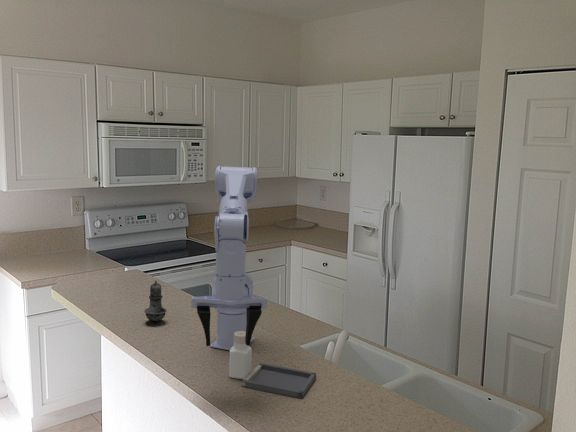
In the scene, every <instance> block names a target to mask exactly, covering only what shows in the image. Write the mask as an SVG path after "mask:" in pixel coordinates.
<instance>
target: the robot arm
mask: <svg viewBox="0 0 576 432" xmlns="http://www.w3.org/2000/svg"><path fill="white" fill-rule="evenodd" d="M214 174H215V175H214V189H215V195H216V197H217V200H218V201H220V203H219V208H218V209H219V210H218V215H215V217H214V218H215V219H214V233H213V235H214V236H213V237H214V241H215V242H214V243H215V245H214V246H215V247H214V248H215V249H214V251H215V252H216V254H215V277H214V279H213V285H212V293H211V294H212V295H203V296H191V305H190V307H191V309H196V311H197V312H196V313H197V315H198V317H199V321H200V323H201V325H202V328H203V329H202V330H203V331H204V336H205V345H206V347H210V348H215V349H219V350H227V351H230V349H231V348H232V347H233V346H234V333H235V332H238V331H245V332H246V336H245V343H246V346H251V343H252V342H253V341H255V337H254V336H253V333H254V330H255V329H256V328H255V327H256V325H257V324H258V321H259V320H260V318H261V315H262V312H263V311H262V309H267V307H268V305H267V304H268V298H267V297H266V296H254V285H253V284H254V279H253V277H252V276H251V275H250V274H249V273H247V272H246V254H247V253H246V252H247V244H248V241H249V230H250V229H249V227H250V219H249V212H248V204H251V203H253V202H255V198H256V197H257V191H258V169H257V168H256V167H255V166H254V167H243V166H222V165H218V166H217V167H216V168H215V173H214ZM244 240H245V241H246V242H245V241H244ZM211 308H214V309H215V310H216V313H217V326H216V330H217V331H216V340H215V341H214V342H212V343H211V330H210V329H211V328H210V327H211Z"/></svg>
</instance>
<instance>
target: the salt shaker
mask: <svg viewBox="0 0 576 432" xmlns="http://www.w3.org/2000/svg"><path fill="white" fill-rule="evenodd" d="M149 289H150V290H149V292H150V293H149V296H148V299H149V307H148V308H146V309H144V312H143V313H144V314H145V316H146V318H147V319H148V320H146V321H145V325H146V326H148V327H162V326H164V325H166V321H165V320H163V319H164V318H165V316H166V313H167V312H168V311H167V309H166V308H165V307H163V305H162V299H163V297H164V296H163V295H162V285H161V284H160V283H158V281H157V280H154V283H152V284H151V285H150V287H149Z"/></svg>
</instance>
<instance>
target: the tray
mask: <svg viewBox="0 0 576 432" xmlns="http://www.w3.org/2000/svg"><path fill="white" fill-rule="evenodd" d="M316 379H317V372H311V371H307V370H301V369H295V368H291V367H286V366H279V365H275V364H269V363H263V362H260V363H259V364H258V365H257V366H255V368H253V370H251V373H250V374H249V375H248V376H247V377H246V378H245V379H242V381H241V387H242V388H249V389H253V390H258V391H260V392H261V391H263V392H268V393H272V394H275V395H276V394H277V395H281V396H286V397H291V398H295V397H296V398H295V399H300V398H301V400H302V399H304V397H303V396H305V395H306V394H307V392H308V391H309V390H310V388H311V386H313V383H314V382H315V380H316Z"/></svg>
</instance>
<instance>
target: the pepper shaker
mask: <svg viewBox="0 0 576 432" xmlns="http://www.w3.org/2000/svg"><path fill="white" fill-rule="evenodd" d="M245 336H246V332H245V331H238V332H235V333H234V346H233V347H232V348H231V349H230V350H229V362H228V365H229V366H228V376H229V378H232V379H238V380H244V379H245V378H246V377H247V376H248V375H249V374H250V373H251V372H252V352H253V351H252V350H253V349H252V347H251V345H248V346H246V343H245Z"/></svg>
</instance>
